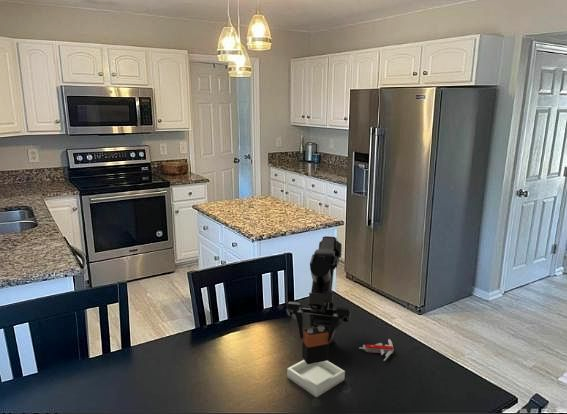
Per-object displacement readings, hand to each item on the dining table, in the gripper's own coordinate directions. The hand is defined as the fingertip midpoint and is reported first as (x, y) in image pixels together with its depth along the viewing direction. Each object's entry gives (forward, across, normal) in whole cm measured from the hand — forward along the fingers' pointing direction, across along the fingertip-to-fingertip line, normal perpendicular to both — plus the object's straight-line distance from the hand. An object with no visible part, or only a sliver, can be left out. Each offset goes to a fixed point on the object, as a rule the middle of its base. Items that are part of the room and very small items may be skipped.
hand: (315, 341), depth 119 cm
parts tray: (+8, 0, +10) cm, 13 cm away
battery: (+4, 0, +6) cm, 7 cm away
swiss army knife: (-5, +18, +24) cm, 31 cm away
